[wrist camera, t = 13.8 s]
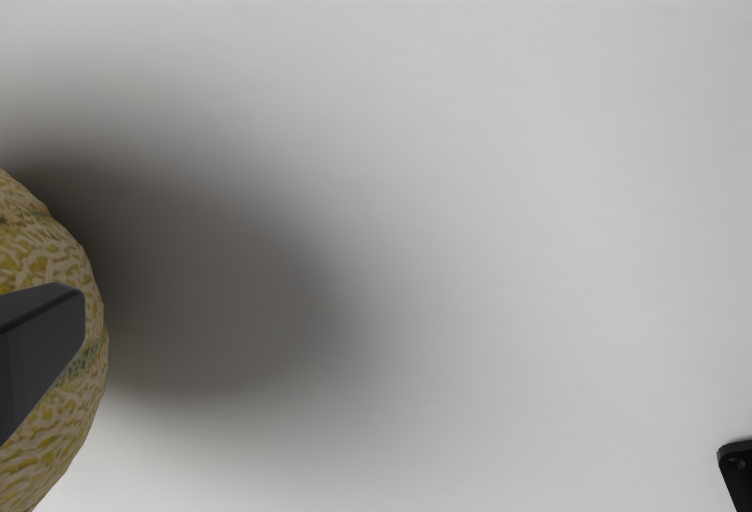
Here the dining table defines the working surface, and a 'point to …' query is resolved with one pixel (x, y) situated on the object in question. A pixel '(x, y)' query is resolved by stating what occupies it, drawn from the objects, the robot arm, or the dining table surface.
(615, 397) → the dining table surface
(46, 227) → the cantaloupe
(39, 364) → the robot arm
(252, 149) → the dining table surface
